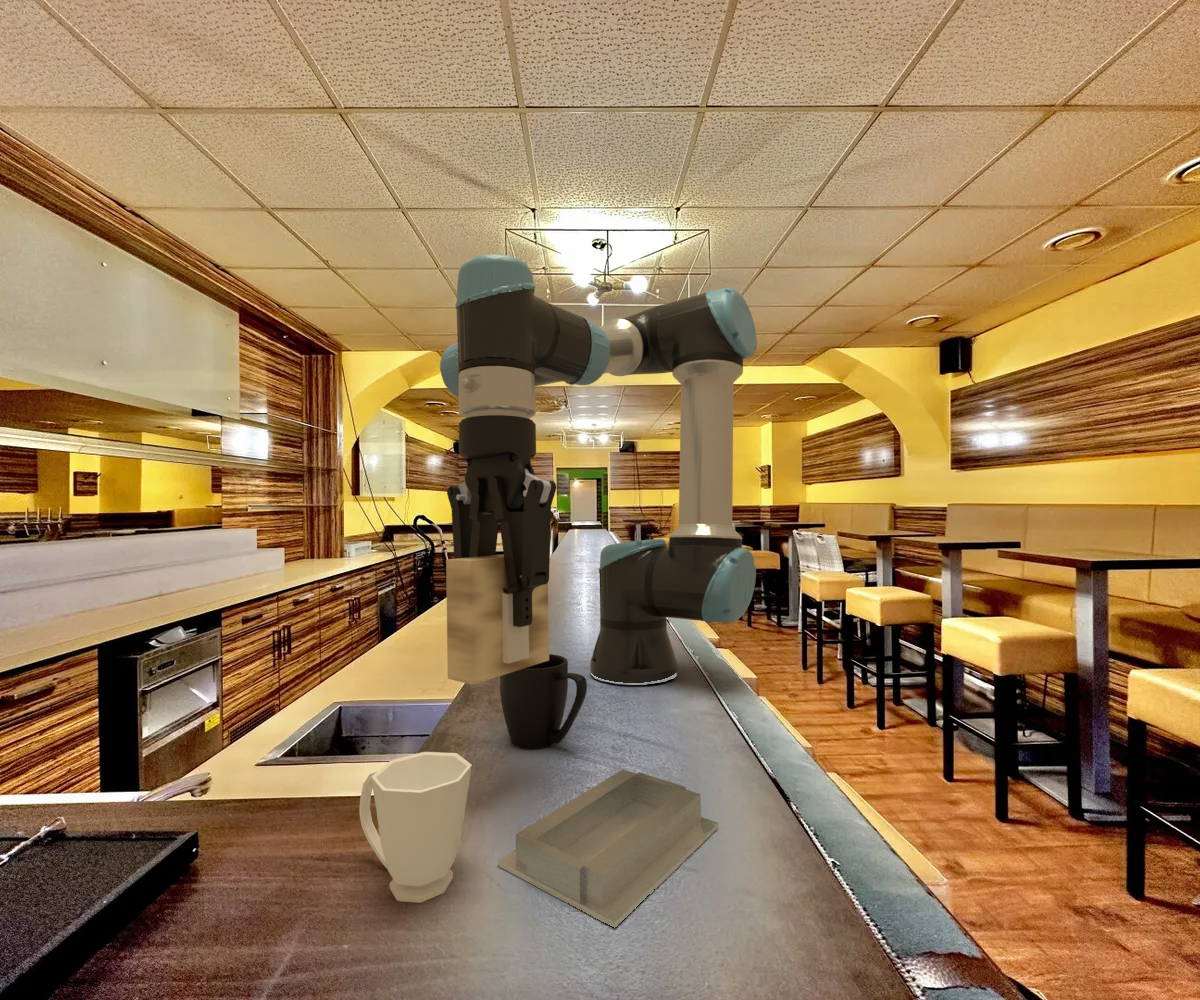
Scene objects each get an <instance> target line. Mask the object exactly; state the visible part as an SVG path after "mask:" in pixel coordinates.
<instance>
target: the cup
mask: <svg viewBox="0 0 1200 1000" xmlns="http://www.w3.org/2000/svg"><path fill="white" fill-rule="evenodd" d="M472 765H473V764H471V762H469V761H468V760H466V759H465V758H464V757H462V755H460V754H459V753H456V752H436V751H421V752H418V753H415V754H410V755H407V756H402V757H399V758H395V759H392V760H389V761H388V762H387V763H386V764H385V765H383V767H381V768H380V769H379V770H376V771H374V772H372V773H369V774H368V776H367V778H366V779H365V780H364V782H363V784H362V789H361V794H360V799H359V809H358V810H359V811H358V812H359V819H360V824H361V825H360V826H361V828H362V830H363V833H364V835H365V838H366V841H368V843H369V845H370V847H371V848H372V850H373V852H374V853H375V855H376V856H377V858H378V860H379V861H380V862H381V863H382V865H383V866H384V867H385V869H387V872H388V873H389V875H390V877H391V878H392V879H391V881H390V882H389V890H390V891H391V893H392V895H393V897H394V898H395V900H396V901H397V902H406V903H407V902H408V903H416V904H417V903H419V904H421V903H424V902H425V901H428V900H430V899H433V898H435V897H437V896H440V895H442V894H444V893H445V892H446V890H447V889H448V887H449V886H450V884H451V882H452V880H453V879H454V872H453V871H452V870H451V867H452V865H453V864H454V862H455V861H456V857H457V852H458V850H459V845H460V841H461V836H462V832H463V827H464V821H465V813H466V807H467V806H466V805H467V798H468V792H469V787H470V781H471V774H472V767H473V766H472ZM372 793H373V797H374V803H375V805H374V806H375V810H376V816H377V817H376V818H377V824H378V825H377V826H378V831H379V832H378V831H377V829H376V826H375V825H374V822H373V818H372V811H371V798H372Z"/></svg>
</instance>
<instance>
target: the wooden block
mask: <svg viewBox="0 0 1200 1000" xmlns="http://www.w3.org/2000/svg"><path fill="white" fill-rule="evenodd" d="M445 563H446V564H445V565H446V567H445V572H446V576H445V578H446V580H445V582H446V586H445V587H446V644H447V645H446V649H447V656H446V657H447V659H446V661H447V679H448V680H452V681H456V682H458V683H459V682H460V683H463V684H466V685H471V686H474V685H476V684H477V685H478V684H480V683H483V682H487V681H489V680H492V679H495V678H500V676H502V675H505V674H508V673H511V672H514V671H517V670H521V669H524V668H527V667H530V666H533V665H536V664H539V663H542V662H545V661H549V654H550V636H549V632H550V631H549V623H550V622H549V586H548V585H549V582H548V583H547V584H544V585H541V586H538V587H536V588H534V590H533V592H532V623H531V625H529V658H526V659H522V660H519V661H516V662H512V663H509V664H508V663H503V620H502V593H504V592H503V589H502V588H507V587H508V582H507V574H506V567H505V560H504V553H503V554H496V555H491V556H480V557H469V558H458V559H454V558H451V559H450V558H449V559H446V560H445ZM520 577H522V575H520Z"/></svg>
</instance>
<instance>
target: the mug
mask: <svg viewBox="0 0 1200 1000" xmlns="http://www.w3.org/2000/svg"><path fill="white" fill-rule="evenodd" d="M568 662H569V661H568V659H567V658H566V657H564V656H561V655H559V654H558V655H557V654H550V653H549V661H545V662H542V663H539V664H536V665H533V666H530V667H527V668H524V669H521V670H517V671H514V672H511V673H508V674H505V675H502V676H499V694H500V695H499V696H500V703H501V709H502V711H503V712H502V713H503V716H504V720H505V725H506V728H507V731H508V732H507V733H508V735H509V740H510V743H511V745H512V746H513V747H516V748H518V749H523V750H541V749H545V748H548V747H551V746H553V745H556V744H559V743H560V742H562V741H563V740H564V739H565V737H566V736H567V734H568V733H569V731H570V729H571V728H572V726H573V724H574V722H575V720H576V718H577V716H578V714H579V712H580V711H581V708H582V706H583V704H584V701H585V698H586V695H587V692H588V690H587V689H588V684H587V682H588V681H587V679H586V677H585V676H583V675H582V674H579V673H573V672H568V671H569V670H568V668H569V667H568V666H569V663H568ZM569 680H572V681H574V682H575V686H576V693H575V698H574V701H573V703H572V706H571V709H570V711H569V713H568V715H567V717H566V719H565V721H564V723H563V725H562V721H563V719H564V718H563V717H564V714H565V709H566V705H567V704H566V703H567V697H568V696H567V695H568V687H569V685H568V681H569ZM561 725H562V726H561Z"/></svg>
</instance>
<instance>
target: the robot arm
mask: <svg viewBox="0 0 1200 1000" xmlns="http://www.w3.org/2000/svg"><path fill="white" fill-rule="evenodd" d="M533 274H534V273H533V272H532V270H531V269H530V267H529V265H528V264H527V263H526V262H524V261H523V260H521V259H519V258H517V257H514V256H510V255H507V254H499V253H495V254H494V253H491V254H490V253H489V254H488V253H487V254H481V255H477V256H475V257H473V258H471V259H468V260H467V259H466V261H465V262H464V263H462V265H461V266H460V268H459V270H458V276H457V286H456V288H457V289H456V303H455V309H456V330H457V333H456V334H457V342H456V343H453V344H451V345H449V346H447V348H446V349H445V350H444V351H443V353H442V355H441V357H440V361H439V362H440V363H439V370H440V376H441V379H442V381H443V384H444V385H445V387H446V389H447V390H448V391H449V392H450V393H451V394H452V395H454V396H455V397H456V398H458V413H459V414H460V415H461V416H462V417H464V418H462V419H461V421H460V422H459V423H458V454H459V456H460V457H462V458H463V459H465V461H467V468H466V471H465V475H464V481H463V482H461V483H460V484H459V485H457V486H453V485H450V486H449V487H448V488H447V489H446V494H447V499H448V501H449V505H450V508H451V525H452V544H453V547H452V548H453V559H458V558H469V557H480V556H491V555H497V553H496V552H497V544H498V535H499V530H500V537H501V545H502V550H503V552H502V553H503V554H504V560H505V567H506V574H507V582H508V587H507V588H502V589H503V592H504V593H502V620H503V663H508V664H509V663H512V662H516V661H519V660H522V659H526V658H529V625H531V623H532V592H533V590H534V588H536V587H538V586H541V585H544V584H547V583H548V584H549V581H550V562H551V561H550V560H551V557H550V556H551V555H550V554H551V520H552V518H551V516H552V504H553V500H554V498H555V497H554V496H555V494H556V491H557V483H556V482H555V481H554V480H546V479H545V480H544V479H542V478H540V477H538V476H536V475H535V470H534V468H533V465H532V462H531V459H533V458H534V457H535V456H536V454H537V426H536V423H535V422H534V421H533V419H531V418H533V417H534V416H536V413H537V412H536V410H537V409H536V387H539V386H540V387H541V386H545V385H551V384H556V383H562V382H564V383H566V384H568V385H570V386H573V385H578V386H589V385H591V384H593V383H595V382H597V381H598V380H599V379H600V378H601V377H602V376H603V374H610V375H611V376H616V377H626V376H631V375H632V376H633V375H655V374H656V375H657V374H659V375H660V374H667V373H671V374H672V377H673V378H674V379H675V380H676V382H678V383H679V384H680V422H679V424H680V429H679V432H680V433H679V435H680V437H679V477H678V478H679V486H678V487H679V492H678V526H677V528H675V529H674V531H672V533H671V534H669V537H668V545H667V544H666V543H667V541H666V540H665V539H664V538H654V539H653V538H652V539H651V538H650V539H644V540H643V539H642V540H634V541H626V542H624V541H623V542H619V543H613V544H609V545H606V546H605V547H602V550H600V555H599V556H600V558H599V567H598V573H599V575H598V576H599V625H600V626H599V627H600V628H599V632H598V636H597V640H596V642H595V646H594V649H593V652H592V656H591V659H590V663H589V665H590V668H589V669H590V670H589V671H591V673H592V674H593V675H594V676H596V677H598V678H601V679H604V680H609V681H614V682H623V683H644V682H651V681H657V680H662V679H665V678H668V677H670V676H672V675H674V674H675V673H676V672H677V673H678V661H677V658H676V655H675V651H674V649H673V645H672V642H671V639H670V636H669V633H668V628H667V626H668V625H667V622H668V621H667V618H670V619H681V620H689V621H690V620H691V621H699V622H700V621H701V622H705V623H707V624H713V623H724V624H725V623H726V624H727V623H729V624H730V623H734V622H736V621H738V620H739V619H741V618H742V616H743V615H744V614H745V613H746V611H747V609H748V607H749V606H750V604H751V601H752V599H753V594H754V591H755V585H756V580H757V579H756V578H757V569H756V568H757V566H756V564H755V558H754V554H753V553H752V552H751V551H750V550H749V549H746V548H745V547H743V537H742V536H741V535H740V533H738V532H737V531H736V529H734V526H733V496H734V495H733V489H734V488H733V487H734V486H733V483H734V482H733V481H734V479H733V478H734V477H733V474H734V473H733V472H734V470H733V469H734V465H733V463H734V383H735V382H736V381H737V380H739V378H740V377H741V376H742V375H743V373H744V360H746V359H747V360H748V359H749V358H751V357H753V356H755V353H756V349H757V344H758V340H757V332H756V330H757V329H756V326H755V322H754V318H753V315H752V312H751V310H750V308H749V305H748V304H747V301H746V300H745V298H744V297H743V295H742V294H741V293H740V292H739V291H738V290H736V289H734V288H732V287H725V288H724V287H723V288H719V289H715V290H714V289H713V290H707V291H705V292H704V293H701V294H696V295H693V296H690V297H687V298H686V297H685V298H682V299H678V300H674V301H671V302H668V303H664V304H659V305H656V306H654V307H650V308H648V309H646V310H643V311H639V312H637V313H635V314H631V315H629V316H625V317H622V318H613V319H610V320H608V321H606V322H605V323H604V324H603V325H602V326H601V325H600V326H598V325H596V324H595V323H594V322H591V321H590V320H589V319H588V318H586V317H585V316H582V315H579V314H575V313H573V312H570V311H568V310H567V309H564V308H561V307H559V306H557V305H554V304H552V303H549V302H546V301H545V300H544V299H543V298H540V297H538V296H536V295H535V291H536V286H535V284H534V275H533ZM520 575H522V577H520Z"/></svg>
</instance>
